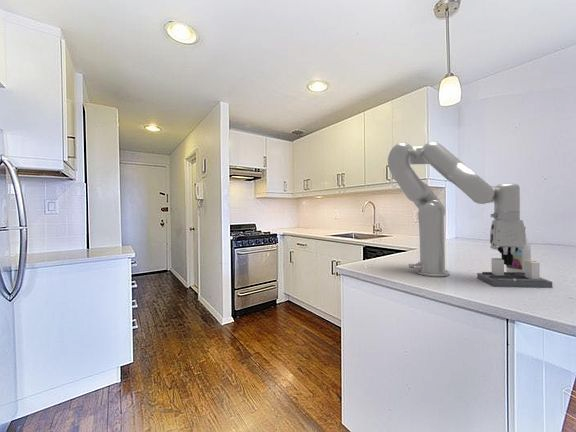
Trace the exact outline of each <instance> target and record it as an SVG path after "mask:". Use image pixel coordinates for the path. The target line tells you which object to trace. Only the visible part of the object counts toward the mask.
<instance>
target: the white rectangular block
mask: <svg viewBox="0 0 576 432" xmlns="http://www.w3.org/2000/svg"><path fill="white" fill-rule="evenodd" d="M490 261H491V272H492V274H494V275H504V272H505V264H504V260H503V259H502V257H500V258H499V257H491V260H490Z"/></svg>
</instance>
